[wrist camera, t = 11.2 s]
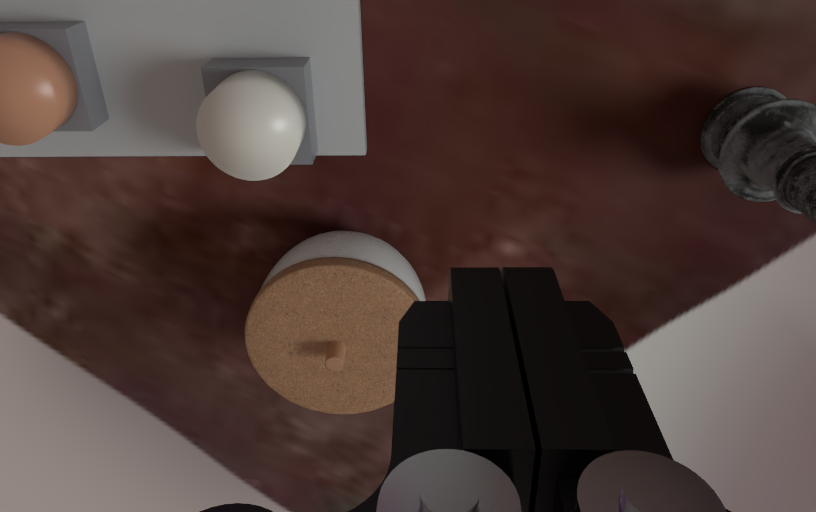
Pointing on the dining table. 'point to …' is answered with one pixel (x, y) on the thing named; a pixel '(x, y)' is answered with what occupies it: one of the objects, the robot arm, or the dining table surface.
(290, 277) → the lidded jar
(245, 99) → the ivory button
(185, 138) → the panel
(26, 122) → the rust button
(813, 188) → the dark chess piece
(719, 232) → the dining table surface
